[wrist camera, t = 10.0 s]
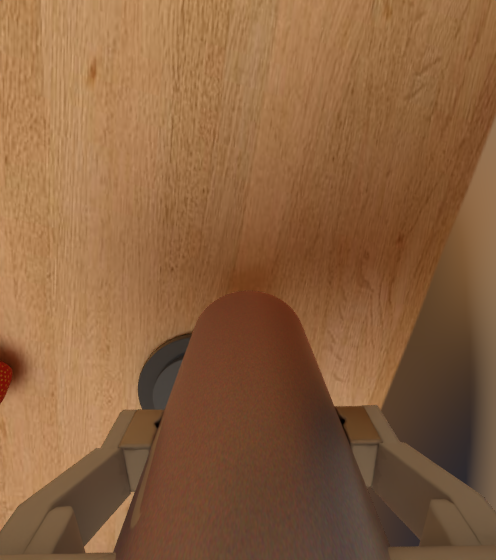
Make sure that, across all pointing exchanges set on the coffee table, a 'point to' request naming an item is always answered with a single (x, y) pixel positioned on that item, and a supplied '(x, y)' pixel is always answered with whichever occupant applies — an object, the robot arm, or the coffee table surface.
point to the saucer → (161, 373)
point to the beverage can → (250, 451)
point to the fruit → (4, 379)
